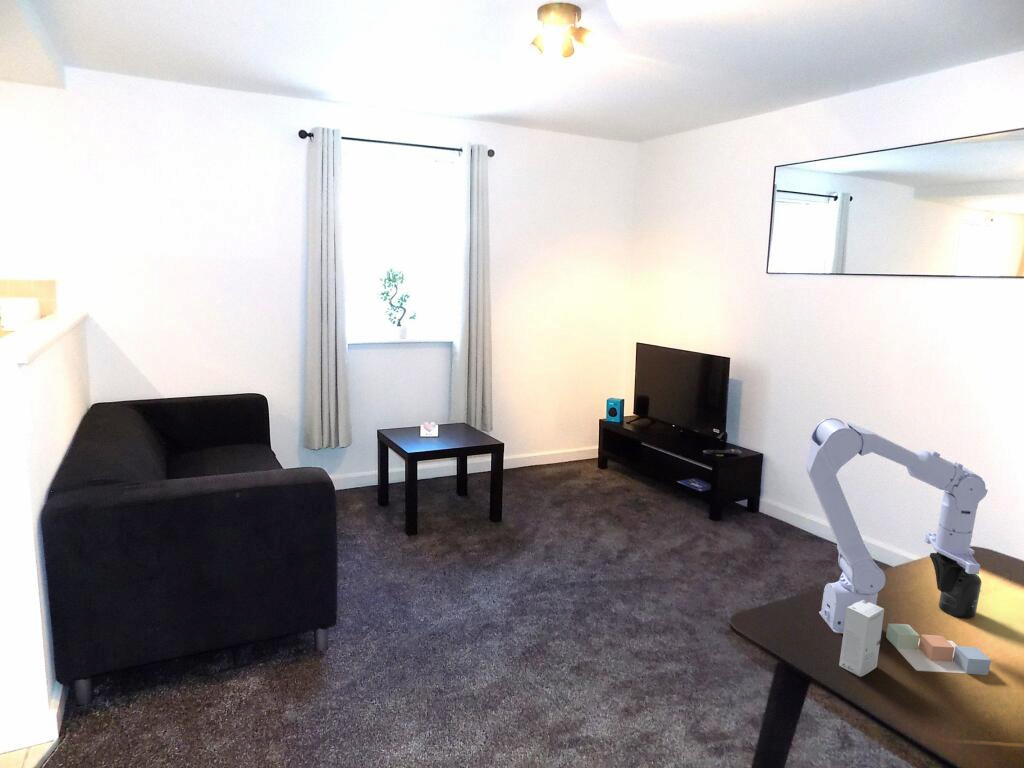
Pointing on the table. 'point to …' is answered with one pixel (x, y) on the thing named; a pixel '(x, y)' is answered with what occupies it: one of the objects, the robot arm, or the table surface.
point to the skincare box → (861, 637)
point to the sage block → (902, 636)
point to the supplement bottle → (962, 597)
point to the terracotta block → (936, 648)
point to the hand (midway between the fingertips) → (944, 590)
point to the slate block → (971, 660)
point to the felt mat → (929, 661)
